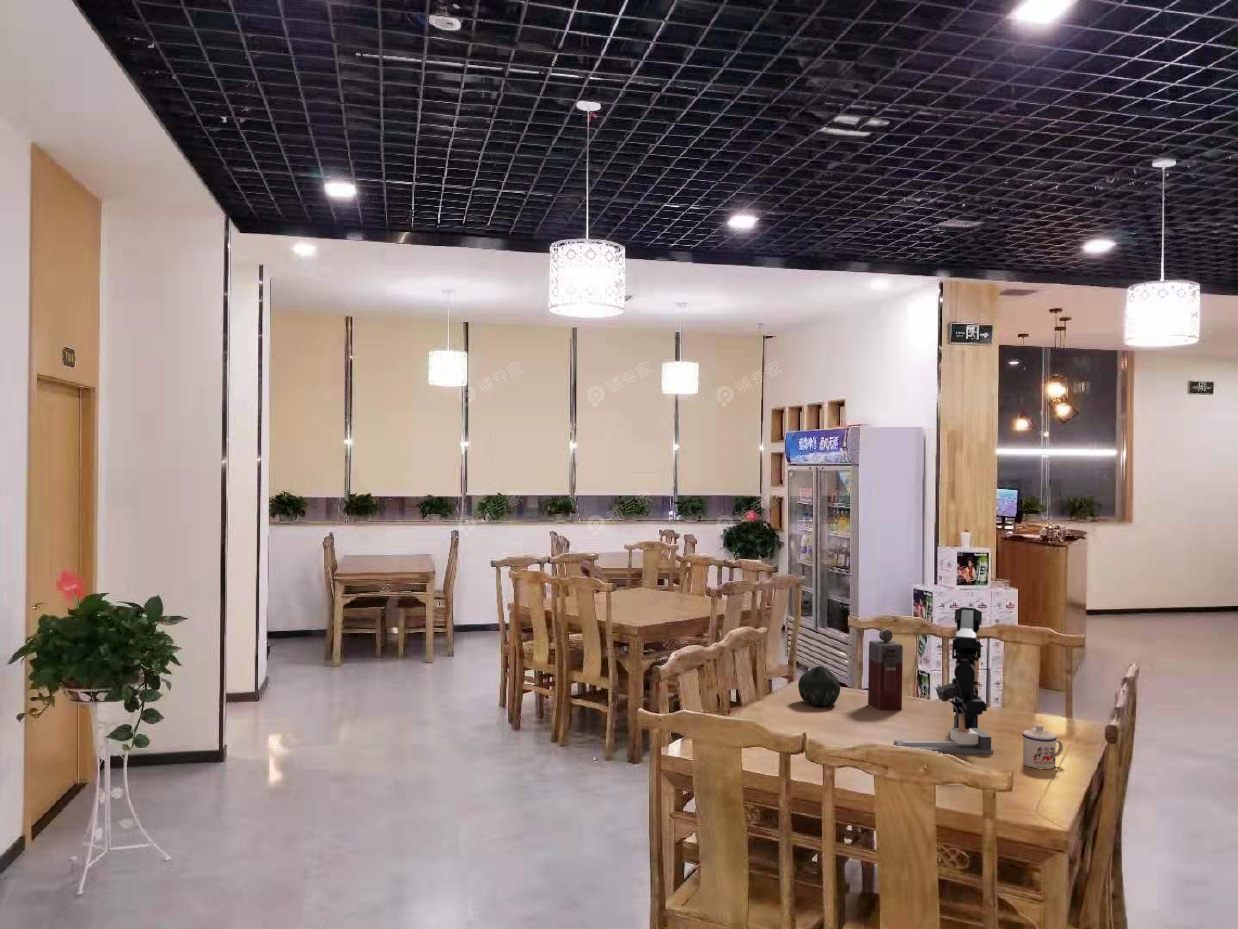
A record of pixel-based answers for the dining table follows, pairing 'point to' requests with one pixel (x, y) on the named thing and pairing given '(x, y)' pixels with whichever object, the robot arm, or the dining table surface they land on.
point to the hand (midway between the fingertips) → (964, 727)
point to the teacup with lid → (1040, 748)
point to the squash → (819, 687)
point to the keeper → (963, 733)
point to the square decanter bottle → (885, 673)
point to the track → (953, 745)
